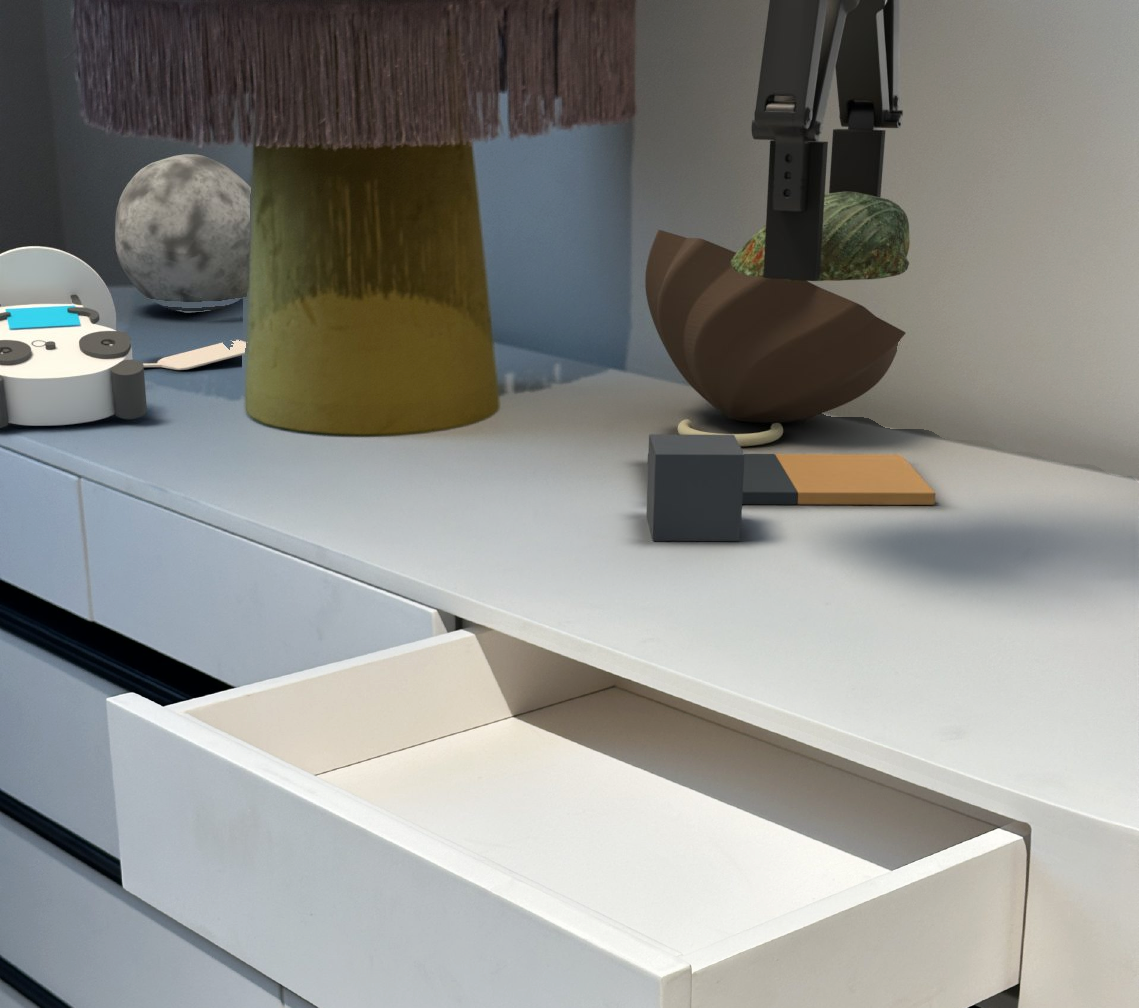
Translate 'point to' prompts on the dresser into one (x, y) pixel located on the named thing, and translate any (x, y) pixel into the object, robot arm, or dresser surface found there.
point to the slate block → (694, 487)
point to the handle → (742, 439)
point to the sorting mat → (833, 480)
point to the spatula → (201, 356)
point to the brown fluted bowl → (761, 335)
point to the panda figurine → (62, 344)
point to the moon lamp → (185, 231)
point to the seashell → (847, 240)
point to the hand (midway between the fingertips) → (822, 265)
